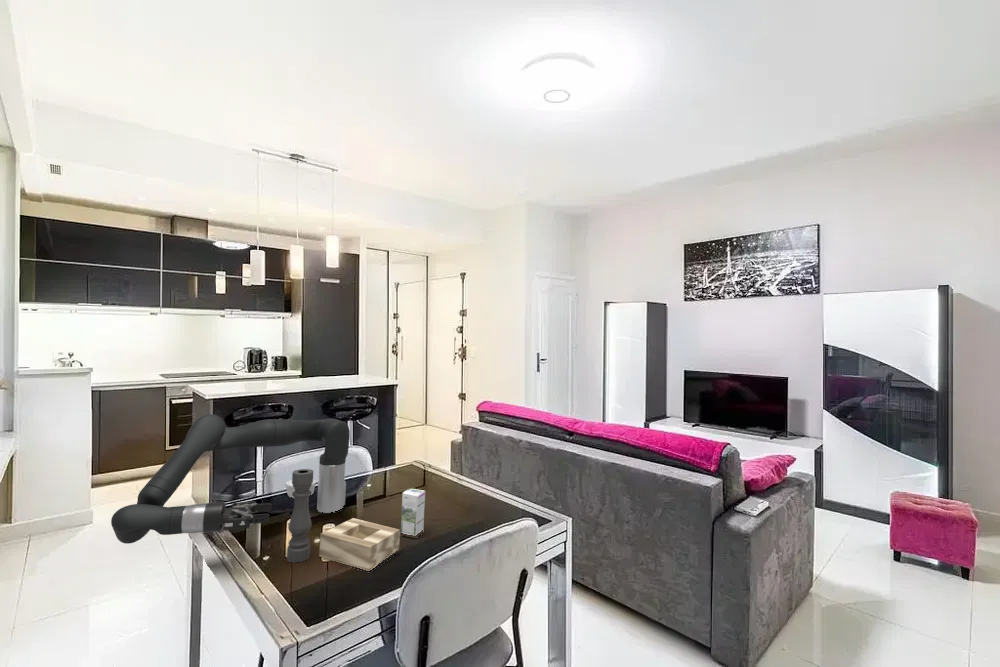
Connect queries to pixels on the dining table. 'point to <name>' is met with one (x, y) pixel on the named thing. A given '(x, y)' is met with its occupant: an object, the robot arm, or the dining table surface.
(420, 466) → the dining table surface
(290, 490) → the ramekin
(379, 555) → the socket block
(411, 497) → the syrup box
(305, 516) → the candle holder
